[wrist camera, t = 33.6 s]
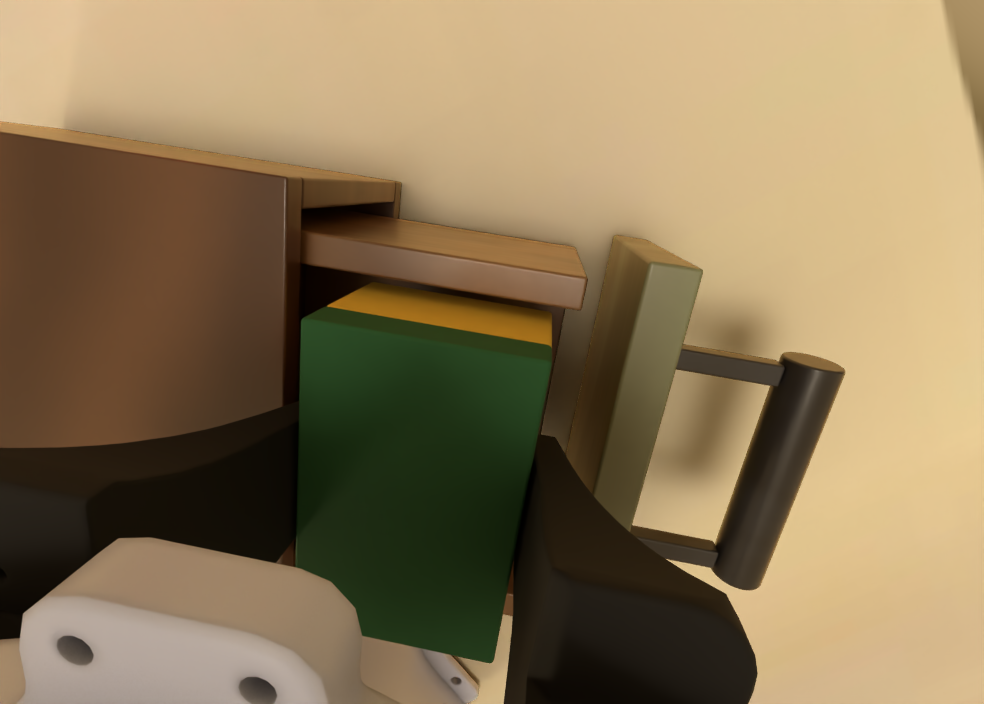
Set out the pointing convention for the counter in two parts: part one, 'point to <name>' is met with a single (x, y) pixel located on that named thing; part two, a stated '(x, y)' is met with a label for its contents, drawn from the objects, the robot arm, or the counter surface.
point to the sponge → (419, 458)
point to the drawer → (601, 363)
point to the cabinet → (150, 285)
